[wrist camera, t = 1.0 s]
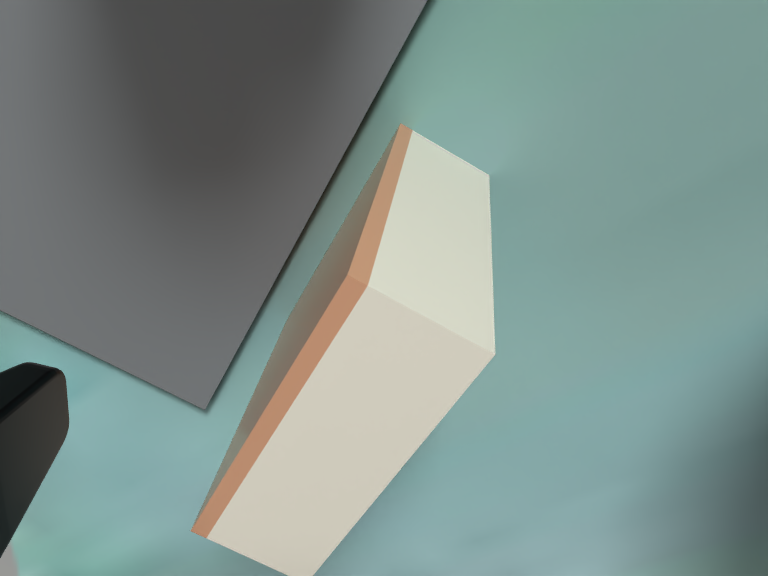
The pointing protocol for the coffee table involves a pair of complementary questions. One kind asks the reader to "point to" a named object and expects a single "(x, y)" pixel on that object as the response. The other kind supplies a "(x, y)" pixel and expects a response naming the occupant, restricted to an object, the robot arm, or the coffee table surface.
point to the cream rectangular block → (362, 361)
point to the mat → (172, 164)
